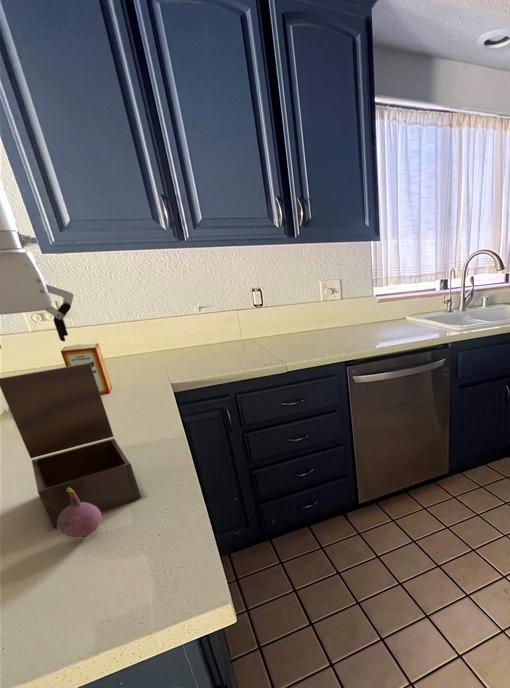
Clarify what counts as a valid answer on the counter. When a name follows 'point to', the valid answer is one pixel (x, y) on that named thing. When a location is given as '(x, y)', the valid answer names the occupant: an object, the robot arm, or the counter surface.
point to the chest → (85, 478)
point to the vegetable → (78, 518)
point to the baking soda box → (92, 356)
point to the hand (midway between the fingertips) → (31, 344)
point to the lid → (56, 408)
